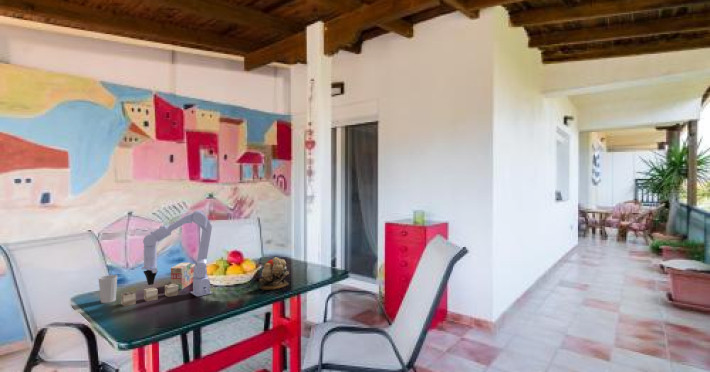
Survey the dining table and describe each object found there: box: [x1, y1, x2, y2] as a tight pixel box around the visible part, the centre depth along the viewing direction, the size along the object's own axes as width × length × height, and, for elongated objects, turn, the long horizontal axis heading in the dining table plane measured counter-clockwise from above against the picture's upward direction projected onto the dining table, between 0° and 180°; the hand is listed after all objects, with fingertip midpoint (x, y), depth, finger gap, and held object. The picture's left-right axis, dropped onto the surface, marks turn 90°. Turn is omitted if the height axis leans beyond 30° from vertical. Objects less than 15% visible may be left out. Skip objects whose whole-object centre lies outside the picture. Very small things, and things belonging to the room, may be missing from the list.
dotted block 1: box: [120, 291, 137, 307], centre depth 182 cm, size 5×5×5 cm
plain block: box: [143, 287, 159, 302], centre depth 189 cm, size 5×5×5 cm
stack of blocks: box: [170, 262, 196, 290], centre depth 216 cm, size 21×6×12 cm, turn 179°
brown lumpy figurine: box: [259, 256, 290, 291], centre depth 211 cm, size 18×12×17 cm, turn 134°
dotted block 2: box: [164, 283, 179, 298], centre depth 196 cm, size 5×5×5 cm
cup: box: [98, 274, 118, 304], centre depth 186 cm, size 8×8×12 cm
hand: (150, 284), depth 189 cm, fingers closed
